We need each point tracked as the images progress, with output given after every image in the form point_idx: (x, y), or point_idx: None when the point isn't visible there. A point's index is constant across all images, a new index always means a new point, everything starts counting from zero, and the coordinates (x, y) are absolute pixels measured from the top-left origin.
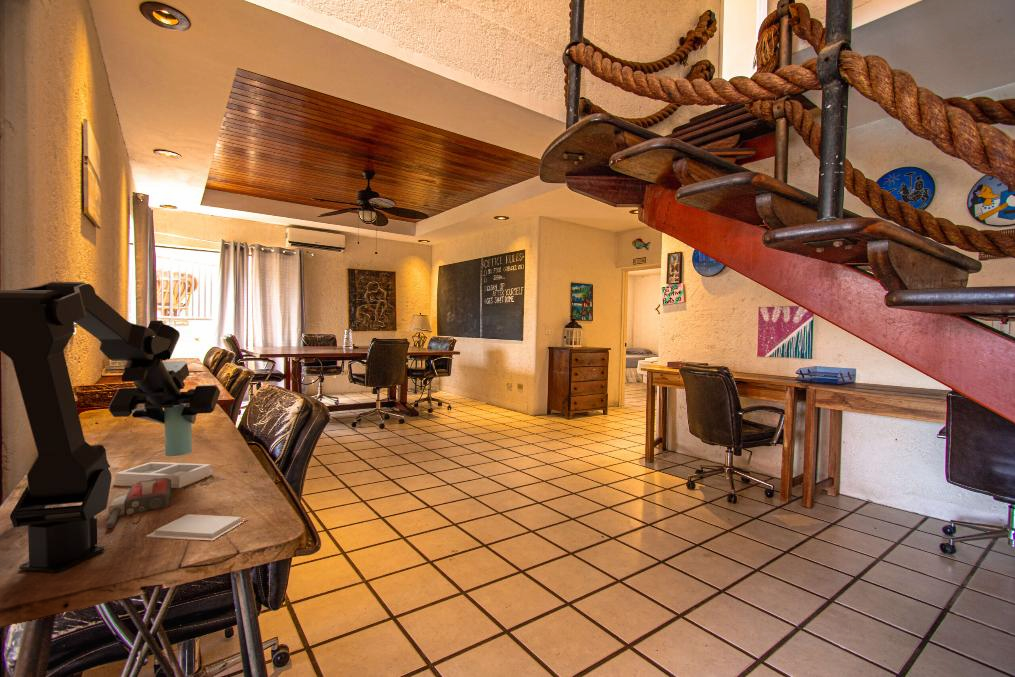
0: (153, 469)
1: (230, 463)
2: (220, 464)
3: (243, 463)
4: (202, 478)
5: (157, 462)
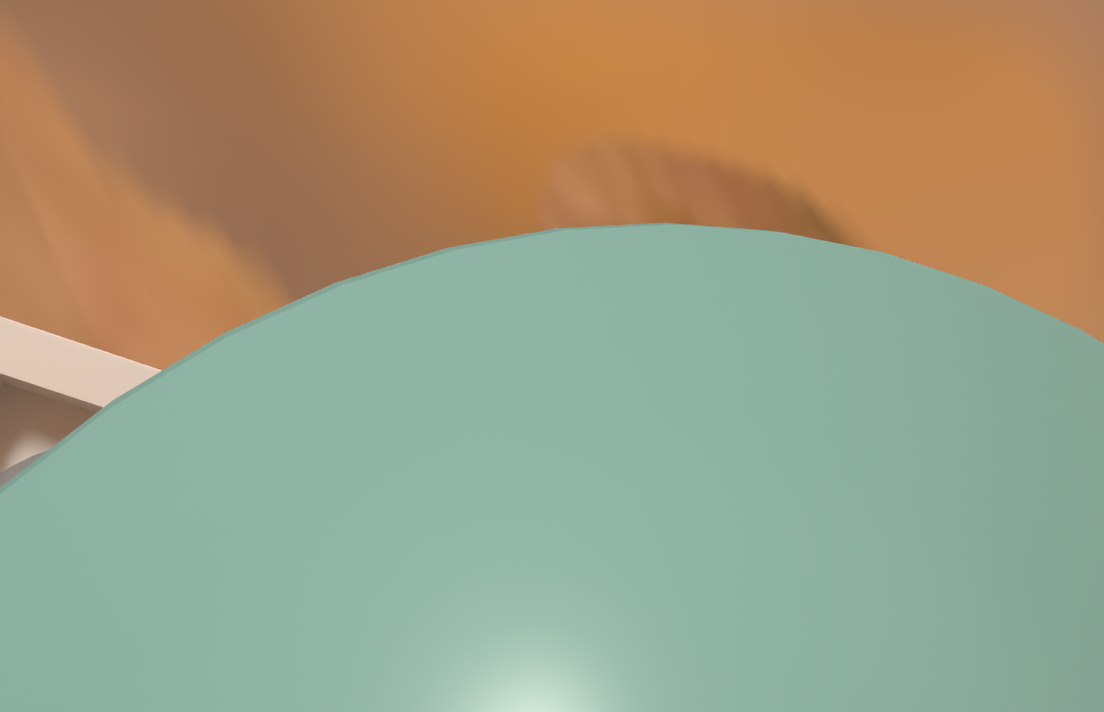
0: (36, 392)
1: (670, 198)
2: (589, 209)
3: (792, 228)
4: None
5: (42, 343)
